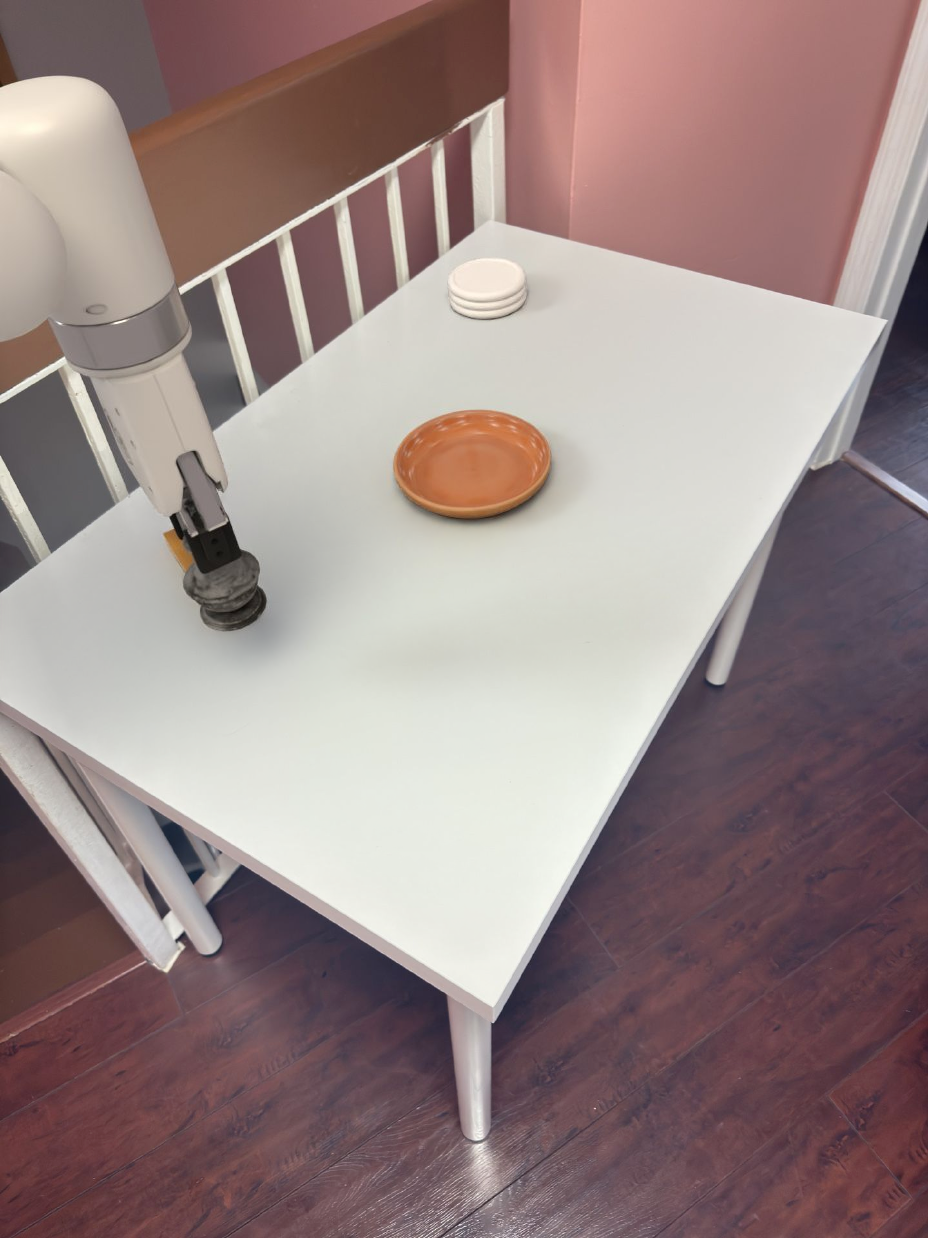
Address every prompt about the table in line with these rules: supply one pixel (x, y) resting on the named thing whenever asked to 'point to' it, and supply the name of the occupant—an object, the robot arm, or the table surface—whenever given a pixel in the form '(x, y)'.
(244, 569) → the salt shaker
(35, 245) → the robot arm
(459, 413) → the saucer
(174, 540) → the golden stick
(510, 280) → the coaster
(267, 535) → the table surface
